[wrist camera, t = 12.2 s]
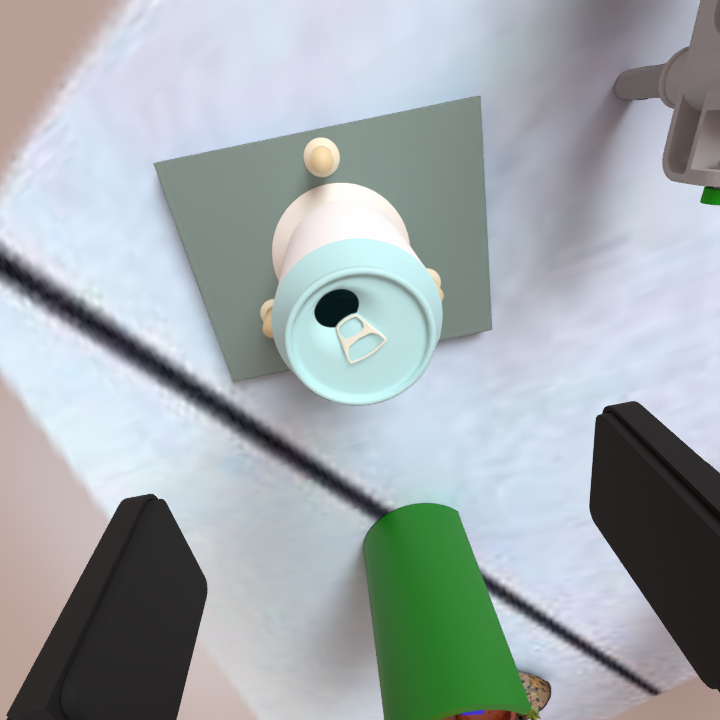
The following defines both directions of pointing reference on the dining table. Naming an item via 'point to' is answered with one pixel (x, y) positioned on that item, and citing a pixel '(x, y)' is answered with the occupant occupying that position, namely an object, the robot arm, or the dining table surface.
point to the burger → (534, 695)
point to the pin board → (325, 184)
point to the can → (354, 306)
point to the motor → (436, 622)
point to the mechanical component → (688, 103)
